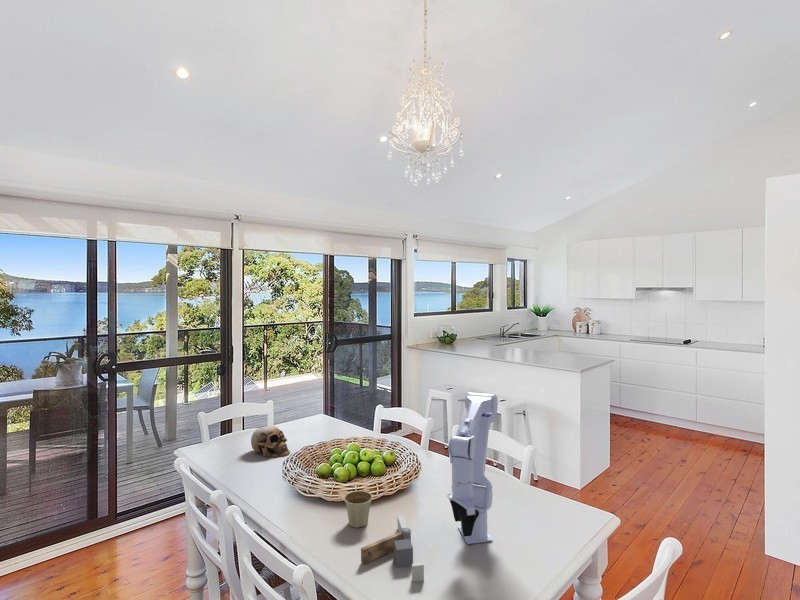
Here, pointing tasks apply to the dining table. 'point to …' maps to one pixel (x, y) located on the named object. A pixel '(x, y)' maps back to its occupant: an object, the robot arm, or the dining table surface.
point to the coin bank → (269, 442)
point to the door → (379, 548)
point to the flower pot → (358, 507)
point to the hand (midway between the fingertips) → (462, 527)
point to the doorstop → (403, 553)
